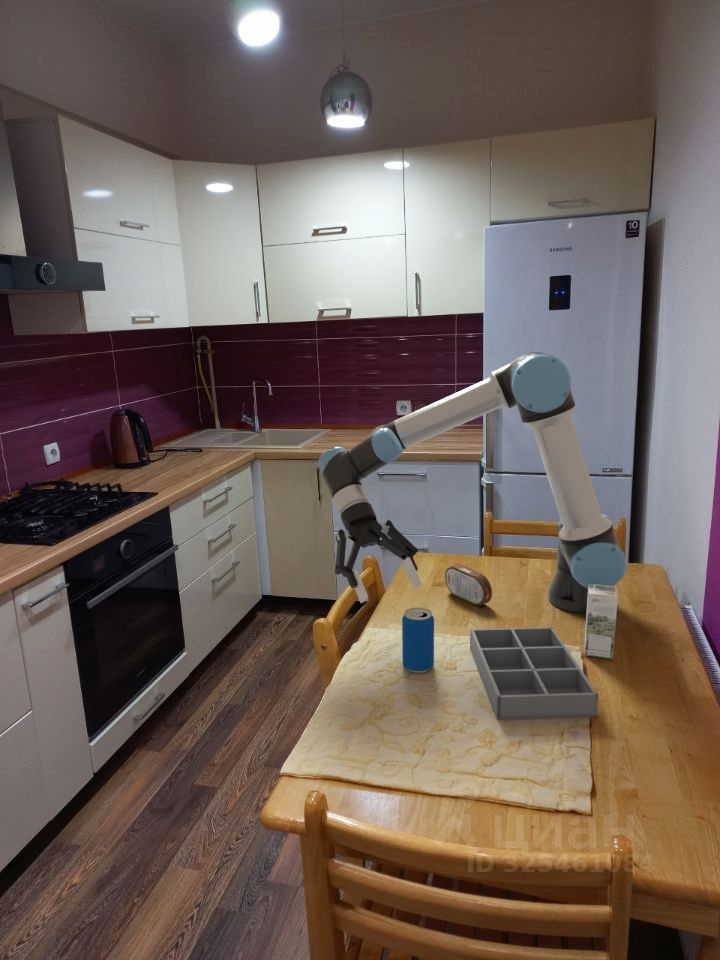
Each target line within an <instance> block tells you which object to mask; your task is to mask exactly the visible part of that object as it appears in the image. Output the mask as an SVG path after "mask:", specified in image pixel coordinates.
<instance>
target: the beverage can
mask: <svg viewBox="0 0 720 960" xmlns="http://www.w3.org/2000/svg"><path fill="white" fill-rule="evenodd" d="M401 627H402V628H401V631H402V633H401V634H402V637H401V638H402V641H401V642H402V648H401V649H402V666H403V667H404V668H405V669H407V670H408V671H409V672H412V673H414V674H423V673H426V672H428V671H429V670H431V669H432V668H433V667H434V666H435V617H434V616H433V612H432V611H431V610H430V609H428V608H425V607H417V606H416V607H410V608H407V609H405V610H404V615H403V616H402V619H401Z"/></svg>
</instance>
